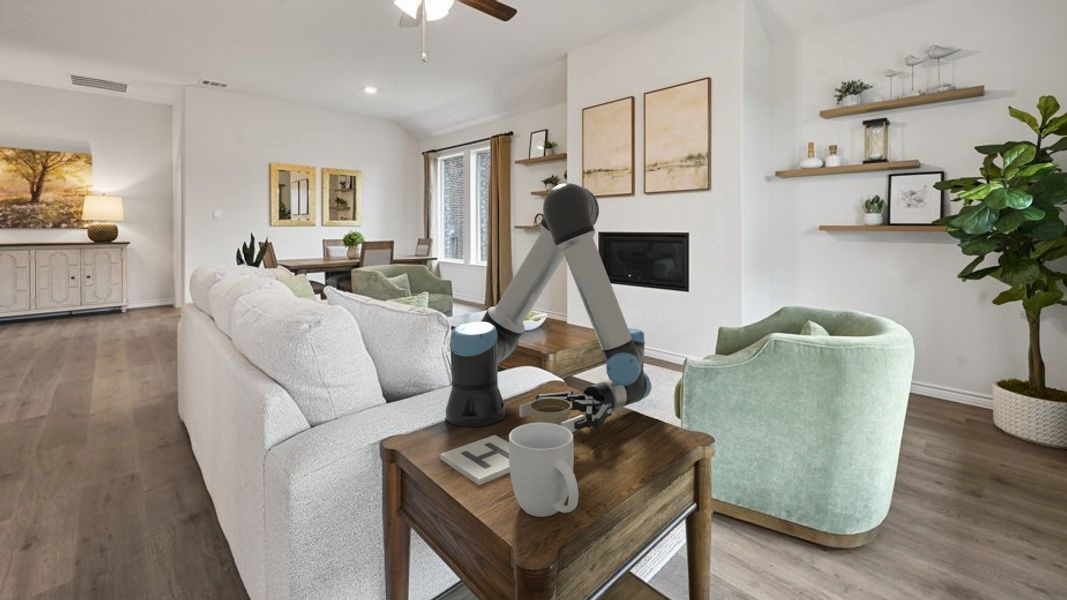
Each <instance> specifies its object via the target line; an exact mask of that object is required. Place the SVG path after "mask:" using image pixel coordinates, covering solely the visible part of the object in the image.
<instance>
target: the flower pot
mask: <svg viewBox="0 0 1067 600" xmlns="http://www.w3.org/2000/svg"><path fill="white" fill-rule="evenodd" d="M532 401H533V402H531V401H530V402H531V403H530V409H531V410H532V414H531V415H532V416H533V421H534V422H533V423H552V424H557V425H560V426H561V422H563V421H566V420H569V414H570V413H571V412H570V411H571V410H570V409H571V407H572V403H571V402H569V401H566V400H564V399H559V398H543V399H538V400H536V399H535V401H534V400H532Z"/></svg>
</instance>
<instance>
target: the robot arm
mask: <svg viewBox="0 0 1067 600" xmlns="http://www.w3.org/2000/svg"><path fill="white" fill-rule="evenodd" d="M542 211H543V217H542V219H541V220H540V222H539V229H540V233H539V235H538V236H537V238H536V240H535V241H534V244H533V245H532V247H531V248H530V250H529V251H528V253H527V254H526V256H525V259H524V260H523V261H522V263H521V264H520V266H519V268H518V270H517V271H516V273H515V275H514V276H513V278H512V280H511V282H510V283H509V285H508V286H507V287H506V289H505V291H504V293H503V295H502V296H501V298H500V300H499V301H498V303H497V305H496V306H490V307H489V308H488V309H487V311H486V312H485V313H484V315H483V317H482V318H481V320H480V321H469V322H467V323H462V324H459V325H457V326H455V327H454V328H453V329H452V330H451V333H450V341H449V348H450V350H449V351H450V370H451V371H450V372H451V374H450V376H451V390H450V393H449V397H448V400H447V402H446V403H447V405H446V407H445V419H446V421H447V422H448V423H450V424H452V425H455V426H460V427H466V428H468V427H469V428H470V427H471V428H474V427H475V428H476V427H478V428H479V427H485V426H490V425H493V424H496V423H497V422H500V421H501V420H503V419H505V416H506V406H505V403H504V402H505V401H504V399H503V397H502V393H501V391H500V388H499V384H498V382H499V381H498V377H499V376H498V365H499V364H500V363H501V362H502V361H504V360H505V359H507V358H509V357H510V356H511V355H512V354H513V353H514V352H515V351H516V350H517V347H518V345H519V342H520V338H521V337H522V335H523V334H524V332H525V330H526V329H525V325H524V322H525V320H526V318H527V317H528V315H529V314H530V313H531V311H532V309H533V308H534V306H535V304H536V303H537V301H538V299H539V298H540V297H541V294H542V293H543V292H544V290H545V288H546V286H547V285H548V284H549V282H550V280H551V279H552V277H553V275H554V274H555V272H556V270H557V269H558V267H559V266H560V264H561V262H562V261H563V259H564V258H565V260H566V264H567V265H568V268H569V270H570V273H571V275H572V278H573V280H574V283H575V286H576V289H577V291H578V293H579V296H580V298H581V300H582V303H583V306H584V309H585V311H586V314H587V315H588V319H589V321H590V323H591V325H592V329H593V330H594V333H595V336H596V338H597V341H598V344H599V346H600V349H601V352H602V355H603V357H604V360H605V362H606V365H605V368H606V370H605V371H606V375H607V377H608V378H609V379H606V380H603V381H601V382H597V383H595V384H591V385H588V386H587V387H586V388H585V389H584V390H583V392H582V393H577V394H574V391H573V390H567V391H562V392H552V393H551V392H550V393H540V394H535V400H538V399H543V398H559V399H564V400H566V401H569V402H570V403H571V402H572V403H571V404H572V407H571V409H570V411H579V412H581V413H585V415H584V414H580V415H577V416H575V417H573V418H568V420H566V421H563V422H561V426H563V427H565V428H567V429H569V430H570V431H571V432H572V433H574V432H576V431H580V430H582V429H591V428H592V427H593V429H594V430H600V429H601V427H603V425H604V423H605V422H606V420H607V418H609V417H612V413H613V411H615V410H617V409H620V408H623V407H626V406H628V405H631V404H635V403H638V402H640V401H642V400H644V399H645V398H647V397H648V396H649V395H650V394H651V390H652V383H651V380H650V376H649V375H648V374H646V373H645V372H644V362H645V345H646V342H645V333H644V331H643V330H641V329H638V328H628V325H627V323H626V319H625V317H624V314H623V312H622V308H621V307H620V304H619V302H618V299H617V296H616V294H615V291H614V289H613V286H612V283H611V280H610V278H609V276H608V273H607V270H606V268H605V265H604V263H603V261H602V257H601V254H600V252H599V249H598V247H597V244H596V243H595V240H594V236H595V234H596V230H595V228H594V226H595V224H597V221H598V218H599V214H600V207H599V202H598V200H597V198H596V196H595V195H594V193H593V192H591V191H590V190H589V189H588V188H585V187H584V186H580V185H577V184H576V183H569V182H567V183H561V184H558V185H556V186H554V187H553V188H552V189H550V190H549V192H548V193H547V194H546V196H545V198H544V200H543V206H542ZM535 400H532V401H528V402H526V403H522V404H521V403H520V404H519V417H520V418H523V417H526V416H530V415H533V414H532V410H531V409H530V403H531V402H533V401H535ZM593 416H594V417H593Z"/></svg>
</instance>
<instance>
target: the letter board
mask: <svg viewBox="0 0 1067 600" xmlns="http://www.w3.org/2000/svg"><path fill="white" fill-rule="evenodd" d="M440 460H441V461H443V462H444V463H446V464H447V465H449V466H450V467H451V468H453V469H454V470H456V471H458V472H459V473H460V474H461V475H463V476H464V477H466V478H467V479H469V480H470V481H472V482H473V483H475V484H476V485H478V486H481V485H483V484H485V483H488V482H490V481H492V480H495V479H497V478H498V479H499V478H500V477H502V476H506V475H507V474H510V464H509V441H507V440H505V439H503V438H501V437H499V436H497V435H496V434H494V435H490V436H488V437H484V438H483V439H479V440H475V441H473V442H471V443H467V444H465V445H462V446H459V447H456V448H452V449H451V450H448V451H444V452H442V453H440Z"/></svg>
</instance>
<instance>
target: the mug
mask: <svg viewBox="0 0 1067 600" xmlns="http://www.w3.org/2000/svg"><path fill="white" fill-rule="evenodd" d="M508 442H509V464H510V473H509V475H510V480H511V486H512V490H513V493H514V496H515V498H516V501H517V502H518V504H519V506H520V507H521V509H522V510H523V511H524V512H525V513H526V514H528V515H531V516H533V517H539V518H545V517H550V516H553V515H555V514H557V513H558V512H560V513H564V514H565V513H570V512H572V511H574V510H575V509H576V507H578V503H579V488H578V483H577V479H576V475H575V473H574V466H575V465H574V462H575V459H574V458H575V456H574V453H575V451H574V449H575V448H574V434H573V432H571V431H570V430H569V429H567V428H565V427H563V426H560V425H557V424H552V423H535V422H530V423H526V424H523V425H522V424H521V425H519V426H517V427H515V428H513V429H512V430H510V433H509V435H508ZM567 498H568V499H567ZM567 500H568V502H567V505H565V503H566V501H567Z"/></svg>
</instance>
